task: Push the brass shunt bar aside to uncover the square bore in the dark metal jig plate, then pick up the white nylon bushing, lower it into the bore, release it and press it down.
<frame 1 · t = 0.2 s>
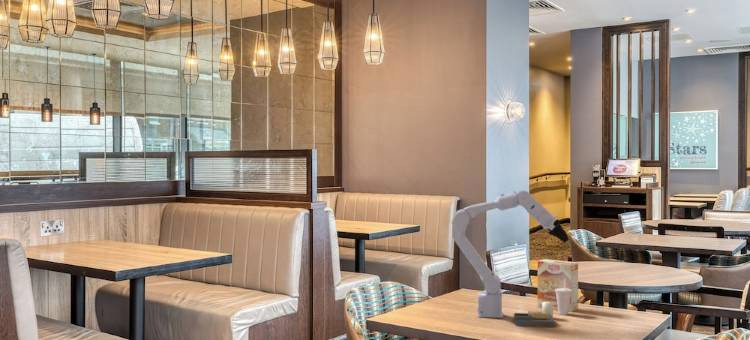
hand: (566, 238, 251), 31 cm above the table, tool tilted 45°, fingers open, 7 cm apart
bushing: (547, 318, 252), on the table
smoothie: (563, 314, 259), on the table
coffeecake box: (557, 308, 269), on the table
jig: (533, 323, 244), on the table
shunt bar: (539, 315, 244), point 3 cm above the table, slide at 0.0 cm
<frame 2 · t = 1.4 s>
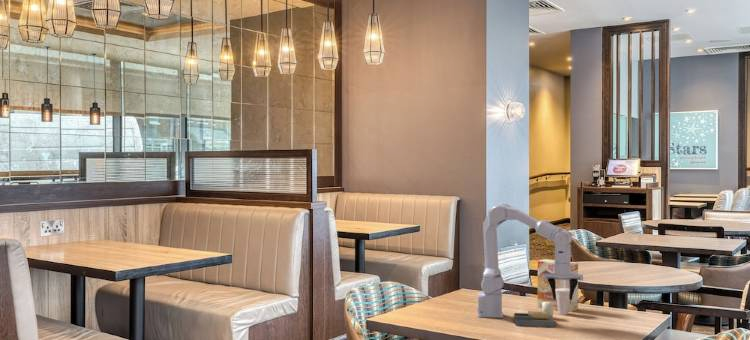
hand: (562, 299, 243), 9 cm above the table, tool pointing down, fingers open, 5 cm apart
nothing on the table moved.
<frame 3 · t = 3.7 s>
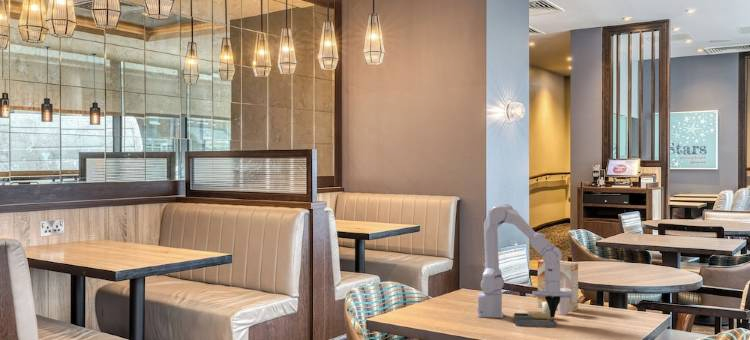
hand: (552, 316, 243), 3 cm above the table, tool pointing down, fingers closed
shunt bar: (538, 315, 244), point 3 cm above the table, slide at 0.2 cm, touching gripper
everything else where it was.
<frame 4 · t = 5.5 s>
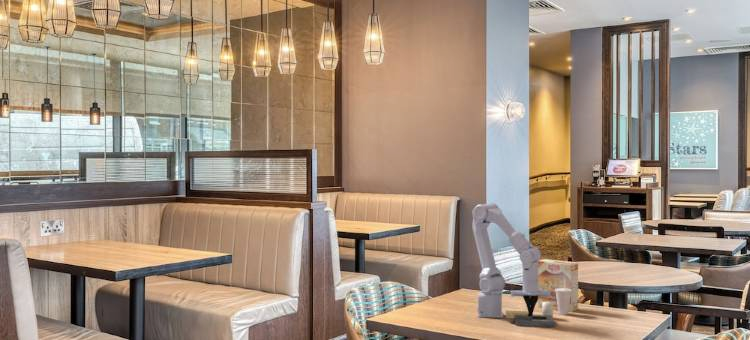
hand: (530, 315, 244), 3 cm above the table, tool pointing down, fingers closed
shunt bar: (516, 314, 245), point 3 cm above the table, slide at 8.2 cm, touching gripper
everything else where it was.
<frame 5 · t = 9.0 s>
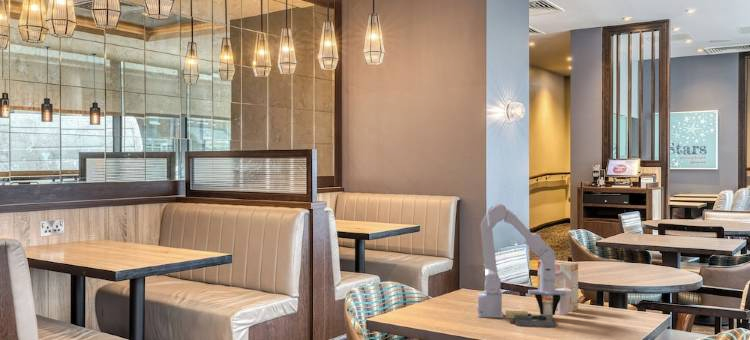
hand: (547, 314, 252), 1 cm above the table, tool pointing down, fingers closed on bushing, 4 cm apart
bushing: (547, 318, 252), on the table, touching gripper
shunt bar: (516, 314, 245), point 3 cm above the table, slide at 8.3 cm
everything else where it was.
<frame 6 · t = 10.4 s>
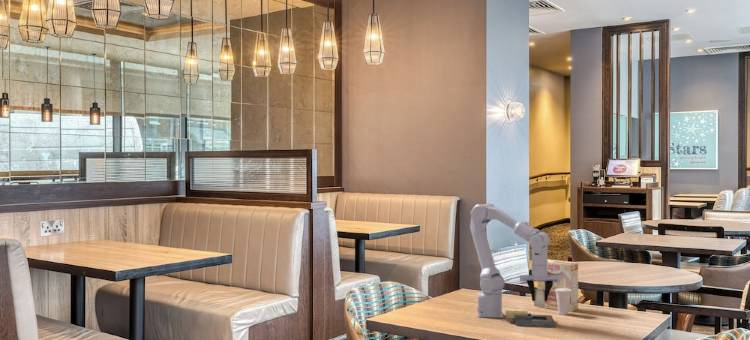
hand: (539, 300, 244), 8 cm above the table, tool pointing down, fingers closed on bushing, 4 cm apart
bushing: (539, 305, 244), point 7 cm above the table, touching gripper
everything else where it was.
when the fingers open (3 cm above the table, at t = 12.2 s): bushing stays where it is, resting in jig.
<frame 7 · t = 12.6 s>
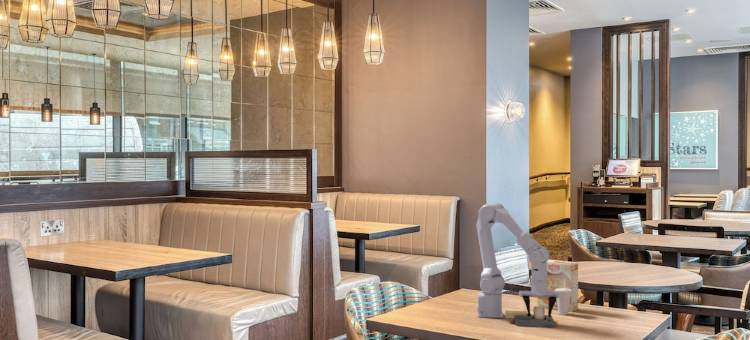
hand: (539, 316, 244), 3 cm above the table, tool pointing down, fingers open, 7 cm apart
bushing: (539, 323, 244), resting in jig
shunt bar: (516, 314, 245), point 3 cm above the table, slide at 8.5 cm, touching gripper
everything else where it was.
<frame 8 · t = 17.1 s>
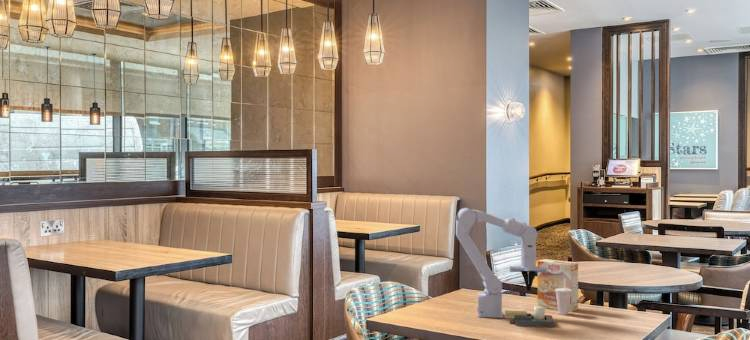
hand: (528, 290, 256), 10 cm above the table, tool pointing down, fingers closed
shunt bar: (515, 314, 245), point 3 cm above the table, slide at 8.5 cm
everything else where it was.
at the end: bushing 0.2 cm from the target spot on the jig, point 0.0 cm above the jig's base; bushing tilted 0°; shunt bar slide at 8.5 cm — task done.
